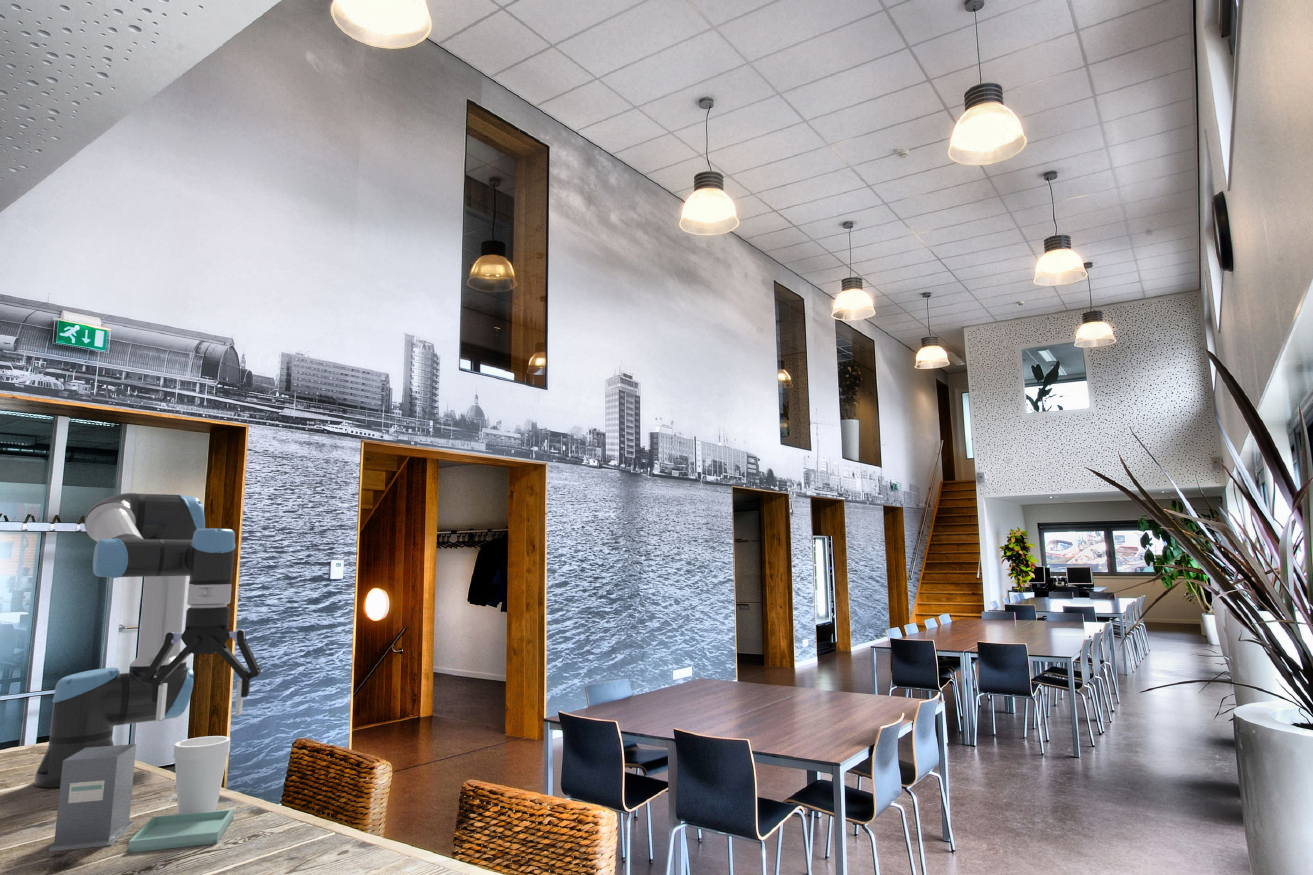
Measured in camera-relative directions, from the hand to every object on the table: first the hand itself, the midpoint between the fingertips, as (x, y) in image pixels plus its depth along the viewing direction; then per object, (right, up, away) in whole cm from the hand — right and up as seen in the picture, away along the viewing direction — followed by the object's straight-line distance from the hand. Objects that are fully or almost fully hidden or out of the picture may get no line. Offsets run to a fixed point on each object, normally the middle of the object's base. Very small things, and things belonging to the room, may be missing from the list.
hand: (199, 717), depth 151 cm
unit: (-10, -16, -15) cm, 24 cm away
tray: (+6, -16, -15) cm, 22 cm away
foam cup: (+1, -18, -2) cm, 18 cm away
